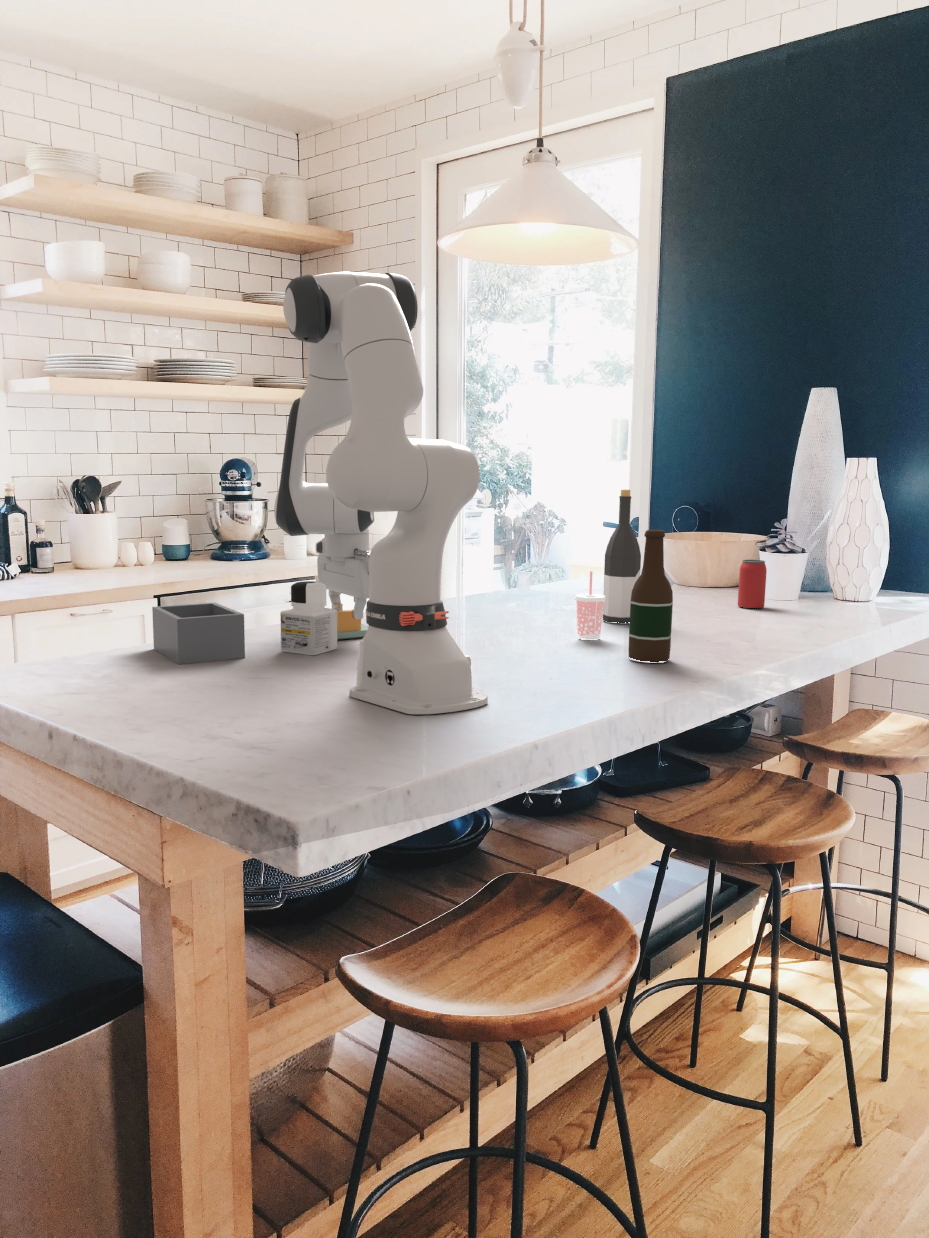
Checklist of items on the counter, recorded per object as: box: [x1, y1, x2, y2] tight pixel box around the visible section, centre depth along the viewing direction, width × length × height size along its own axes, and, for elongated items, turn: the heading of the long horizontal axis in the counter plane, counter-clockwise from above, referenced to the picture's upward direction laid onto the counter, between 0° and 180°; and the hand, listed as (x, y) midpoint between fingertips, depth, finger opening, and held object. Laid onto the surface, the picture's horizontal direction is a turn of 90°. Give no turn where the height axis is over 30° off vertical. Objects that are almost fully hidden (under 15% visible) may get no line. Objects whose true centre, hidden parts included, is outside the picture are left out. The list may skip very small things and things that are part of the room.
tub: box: [151, 602, 246, 665], centre depth 177 cm, size 16×12×8 cm
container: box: [280, 580, 338, 656], centre depth 181 cm, size 8×8×13 cm
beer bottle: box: [628, 529, 674, 662], centre depth 176 cm, size 8×8×24 cm
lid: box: [337, 609, 369, 641], centre depth 200 cm, size 16×12×6 cm
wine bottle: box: [602, 489, 642, 623], centre depth 219 cm, size 8×8×30 cm
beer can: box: [737, 559, 767, 610], centre depth 245 cm, size 7×7×12 cm
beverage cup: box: [574, 571, 605, 639], centre depth 197 cm, size 6×6×14 cm
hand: (347, 615), depth 195 cm, fingers open, 8 cm apart
